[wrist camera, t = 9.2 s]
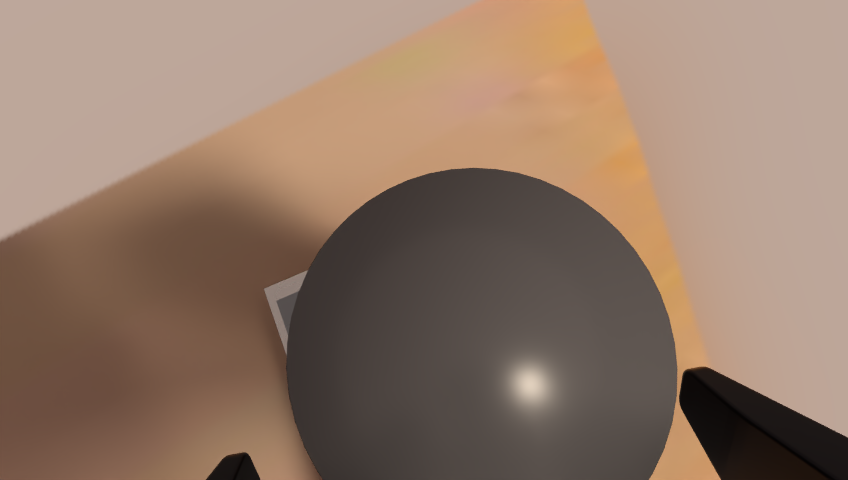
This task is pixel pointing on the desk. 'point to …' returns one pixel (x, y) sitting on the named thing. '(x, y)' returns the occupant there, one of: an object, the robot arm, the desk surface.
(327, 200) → the desk surface
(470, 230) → the grey domed cylinder
